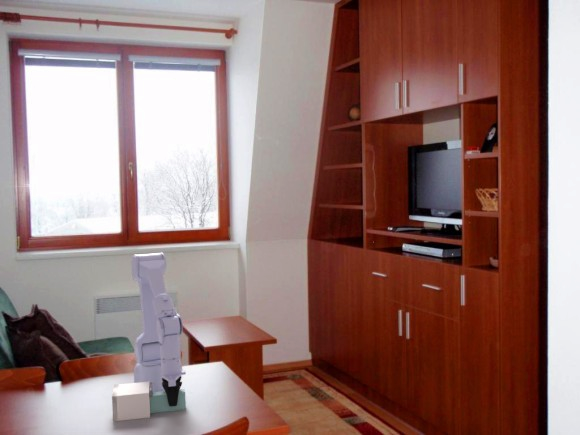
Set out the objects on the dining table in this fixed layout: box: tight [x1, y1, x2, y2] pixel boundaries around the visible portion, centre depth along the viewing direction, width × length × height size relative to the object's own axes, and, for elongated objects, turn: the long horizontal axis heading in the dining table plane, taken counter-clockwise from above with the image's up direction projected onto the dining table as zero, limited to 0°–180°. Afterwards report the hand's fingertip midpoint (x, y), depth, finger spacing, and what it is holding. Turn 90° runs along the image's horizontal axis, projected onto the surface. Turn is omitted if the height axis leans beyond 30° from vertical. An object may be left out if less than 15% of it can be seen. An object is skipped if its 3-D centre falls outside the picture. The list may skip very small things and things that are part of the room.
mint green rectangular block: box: [150, 388, 187, 414], centre depth 184 cm, size 16×3×5 cm, turn 104°
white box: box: [111, 381, 153, 422], centre depth 182 cm, size 11×11×7 cm
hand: (172, 403), depth 185 cm, fingers closed on mint green rectangular block, 3 cm apart
